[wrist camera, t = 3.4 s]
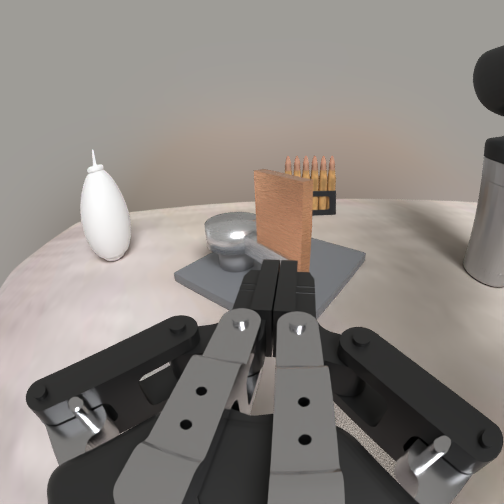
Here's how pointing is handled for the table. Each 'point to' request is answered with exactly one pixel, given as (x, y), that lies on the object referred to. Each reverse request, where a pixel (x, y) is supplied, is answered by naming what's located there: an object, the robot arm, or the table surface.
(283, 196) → the twist collar
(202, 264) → the lock base
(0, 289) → the table surface
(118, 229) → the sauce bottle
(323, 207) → the ammunition clip
